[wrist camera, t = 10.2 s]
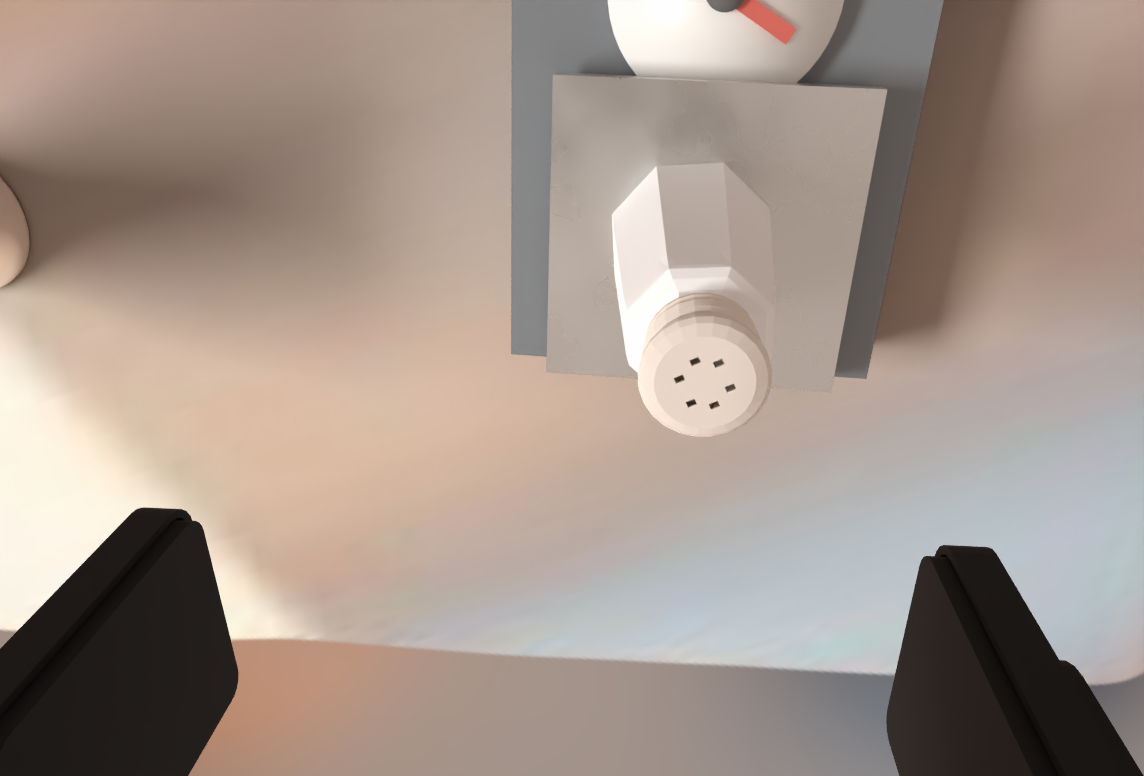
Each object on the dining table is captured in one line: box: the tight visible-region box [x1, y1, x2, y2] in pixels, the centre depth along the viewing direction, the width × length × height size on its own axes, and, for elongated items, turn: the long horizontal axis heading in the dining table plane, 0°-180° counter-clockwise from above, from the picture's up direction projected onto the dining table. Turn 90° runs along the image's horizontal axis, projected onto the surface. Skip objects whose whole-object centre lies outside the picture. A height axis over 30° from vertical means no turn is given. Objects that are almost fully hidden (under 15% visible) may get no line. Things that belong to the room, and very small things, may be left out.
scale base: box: [511, 0, 944, 379], centre depth 28 cm, size 16×13×4 cm
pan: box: [546, 72, 887, 392], centre depth 28 cm, size 10×10×1 cm
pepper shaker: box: [612, 163, 775, 437], centre depth 22 cm, size 5×5×11 cm
